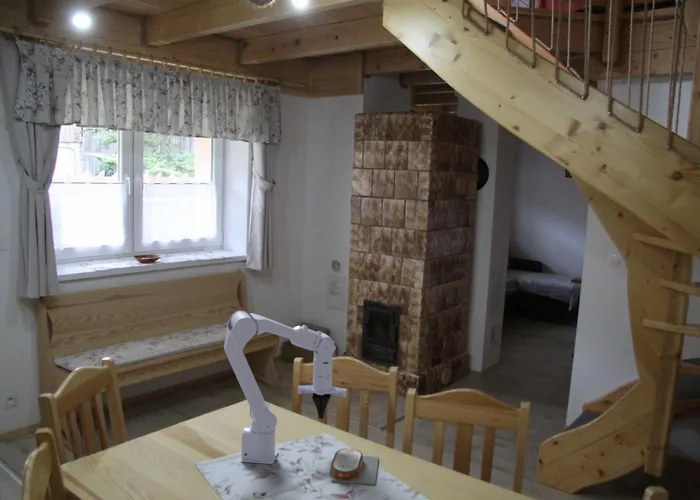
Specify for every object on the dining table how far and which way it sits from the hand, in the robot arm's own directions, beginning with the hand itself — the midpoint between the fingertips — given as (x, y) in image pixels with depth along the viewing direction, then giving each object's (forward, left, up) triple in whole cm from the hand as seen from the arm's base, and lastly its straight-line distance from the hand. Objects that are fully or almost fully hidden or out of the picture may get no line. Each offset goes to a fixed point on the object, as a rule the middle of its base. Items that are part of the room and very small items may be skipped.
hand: (321, 417), depth 181 cm
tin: (+5, -11, -8) cm, 15 cm away
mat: (+12, -11, -10) cm, 19 cm away
